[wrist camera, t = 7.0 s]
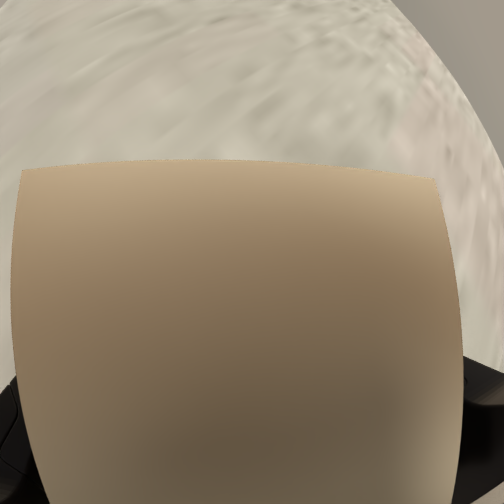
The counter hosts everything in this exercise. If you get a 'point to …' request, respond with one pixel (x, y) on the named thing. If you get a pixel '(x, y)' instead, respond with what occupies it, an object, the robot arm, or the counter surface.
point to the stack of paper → (236, 334)
